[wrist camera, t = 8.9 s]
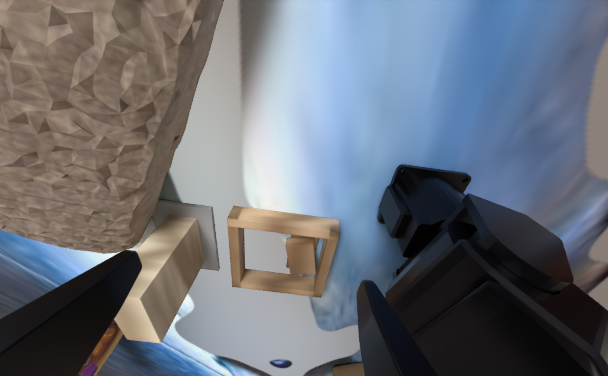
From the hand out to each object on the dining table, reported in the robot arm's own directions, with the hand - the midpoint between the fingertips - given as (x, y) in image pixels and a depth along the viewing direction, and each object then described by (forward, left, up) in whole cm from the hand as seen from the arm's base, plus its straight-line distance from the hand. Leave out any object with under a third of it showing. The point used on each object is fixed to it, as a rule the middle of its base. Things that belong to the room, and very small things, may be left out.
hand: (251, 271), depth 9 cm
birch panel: (+10, +13, -12) cm, 20 cm away
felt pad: (+10, +13, -12) cm, 21 cm away
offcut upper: (-3, +13, -12) cm, 18 cm away
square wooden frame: (-1, +13, -12) cm, 18 cm away
